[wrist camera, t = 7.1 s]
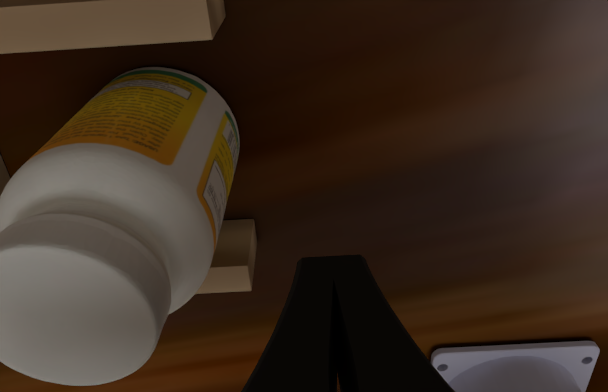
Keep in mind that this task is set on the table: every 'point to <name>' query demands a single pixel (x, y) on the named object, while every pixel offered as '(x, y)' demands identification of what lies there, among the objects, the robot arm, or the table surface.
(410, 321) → the table surface
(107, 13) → the beech corral
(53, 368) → the supplement bottle
